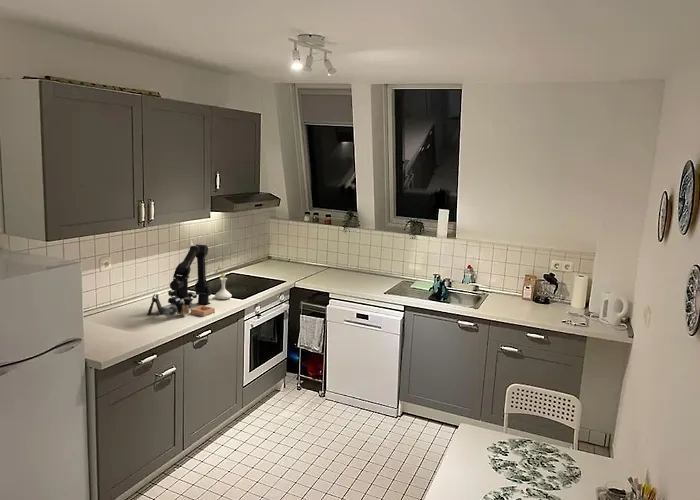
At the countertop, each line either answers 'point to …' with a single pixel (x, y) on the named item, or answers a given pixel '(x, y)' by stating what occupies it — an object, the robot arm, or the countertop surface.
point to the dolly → (172, 308)
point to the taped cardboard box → (184, 309)
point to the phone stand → (156, 304)
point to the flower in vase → (223, 292)
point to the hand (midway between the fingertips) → (182, 311)
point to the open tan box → (202, 310)
